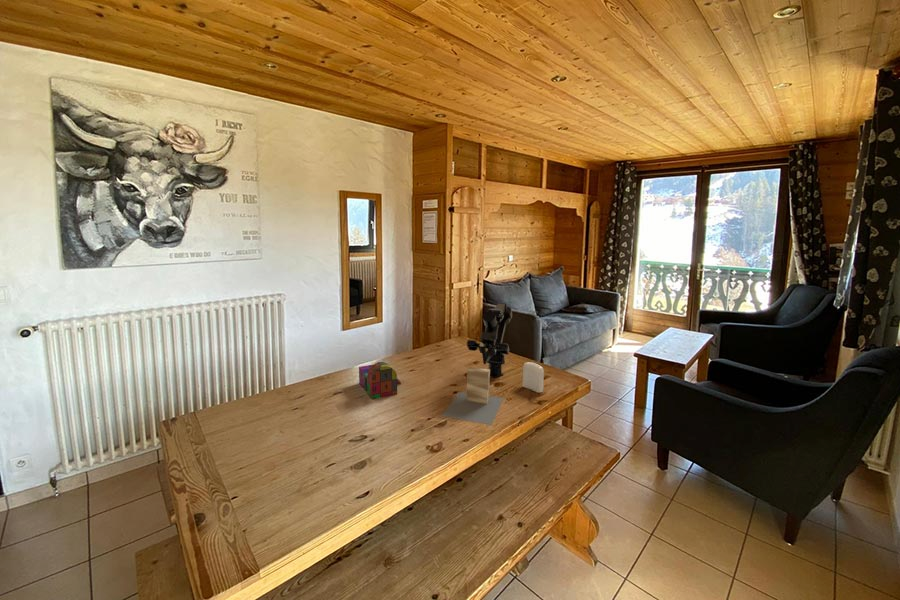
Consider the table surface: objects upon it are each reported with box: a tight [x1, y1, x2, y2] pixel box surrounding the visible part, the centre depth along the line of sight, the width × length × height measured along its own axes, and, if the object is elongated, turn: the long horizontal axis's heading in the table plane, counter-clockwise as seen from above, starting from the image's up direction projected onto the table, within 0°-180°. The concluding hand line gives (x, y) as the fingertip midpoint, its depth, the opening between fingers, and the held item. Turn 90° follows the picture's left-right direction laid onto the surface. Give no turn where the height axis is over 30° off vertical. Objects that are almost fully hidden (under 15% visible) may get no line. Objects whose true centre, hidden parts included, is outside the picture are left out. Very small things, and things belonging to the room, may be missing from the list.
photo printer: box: [522, 361, 545, 394], centre depth 185 cm, size 10×4×12 cm, turn 39°
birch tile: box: [466, 366, 491, 404], centre depth 171 cm, size 3×9×14 cm, turn 72°
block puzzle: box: [358, 361, 402, 400], centre depth 187 cm, size 25×17×14 cm
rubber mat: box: [441, 391, 504, 426], centre depth 166 cm, size 24×20×1 cm
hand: (484, 363), depth 179 cm, fingers closed
